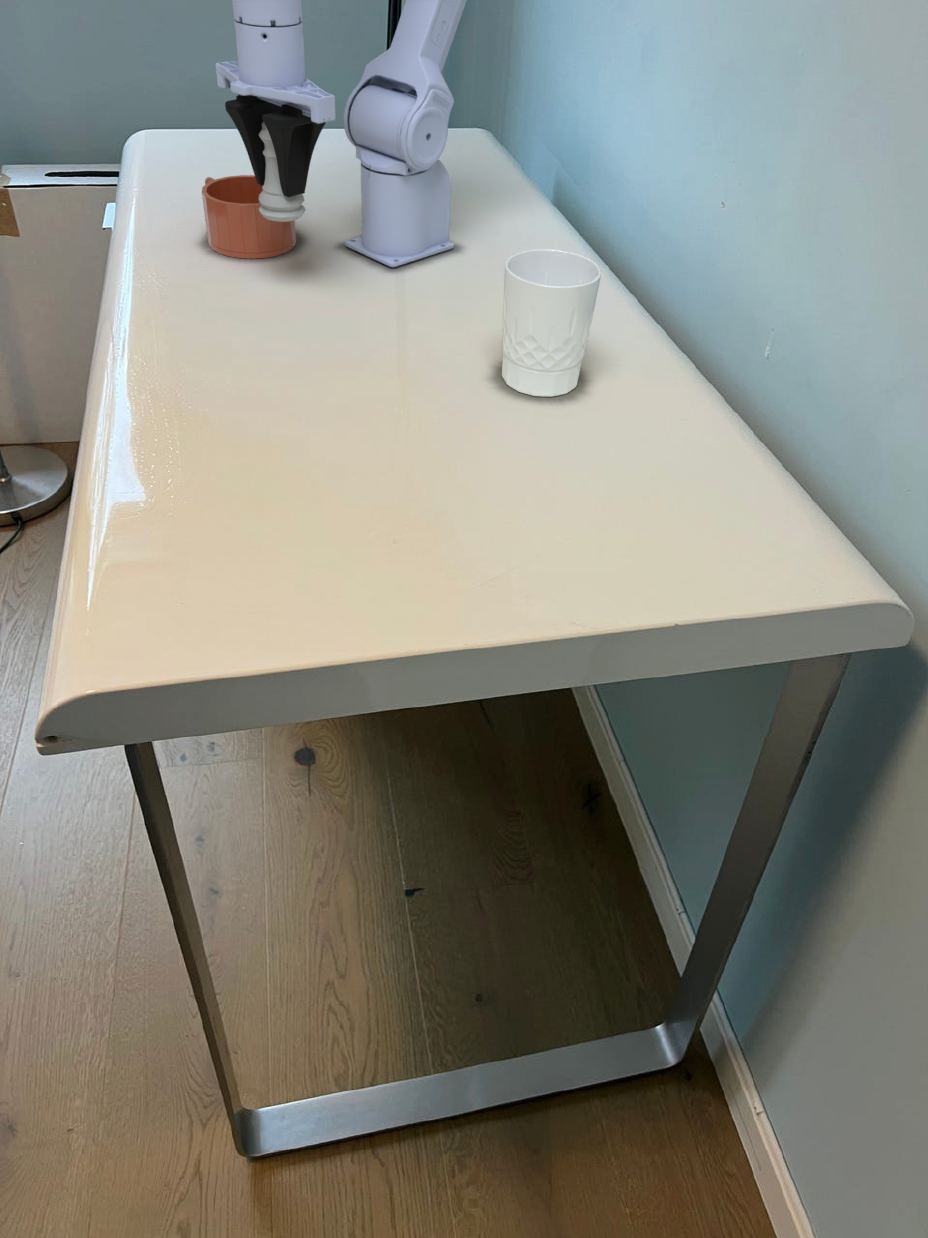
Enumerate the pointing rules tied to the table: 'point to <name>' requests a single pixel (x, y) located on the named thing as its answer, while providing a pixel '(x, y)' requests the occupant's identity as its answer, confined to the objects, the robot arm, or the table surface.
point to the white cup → (547, 319)
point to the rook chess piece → (276, 188)
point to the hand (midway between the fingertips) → (280, 188)
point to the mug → (242, 220)
